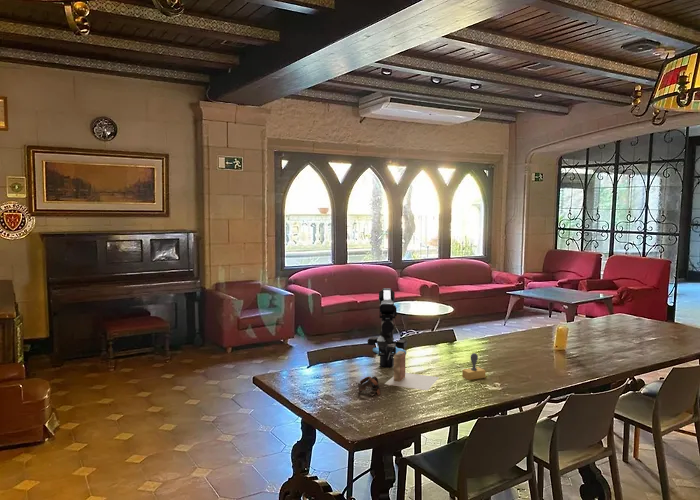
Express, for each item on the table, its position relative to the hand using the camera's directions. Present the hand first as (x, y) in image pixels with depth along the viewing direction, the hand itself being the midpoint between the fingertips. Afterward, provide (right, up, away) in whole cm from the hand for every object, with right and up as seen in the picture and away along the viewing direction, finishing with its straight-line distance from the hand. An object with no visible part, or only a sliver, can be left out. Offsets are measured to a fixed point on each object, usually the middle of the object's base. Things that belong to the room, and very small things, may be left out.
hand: (387, 359), depth 256 cm
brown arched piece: (-9, -11, -19) cm, 24 cm away
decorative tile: (+4, -6, +46) cm, 47 cm away
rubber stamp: (+43, -9, +2) cm, 44 cm away
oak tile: (+6, -9, -2) cm, 11 cm away
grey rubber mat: (+12, -9, -5) cm, 16 cm away
